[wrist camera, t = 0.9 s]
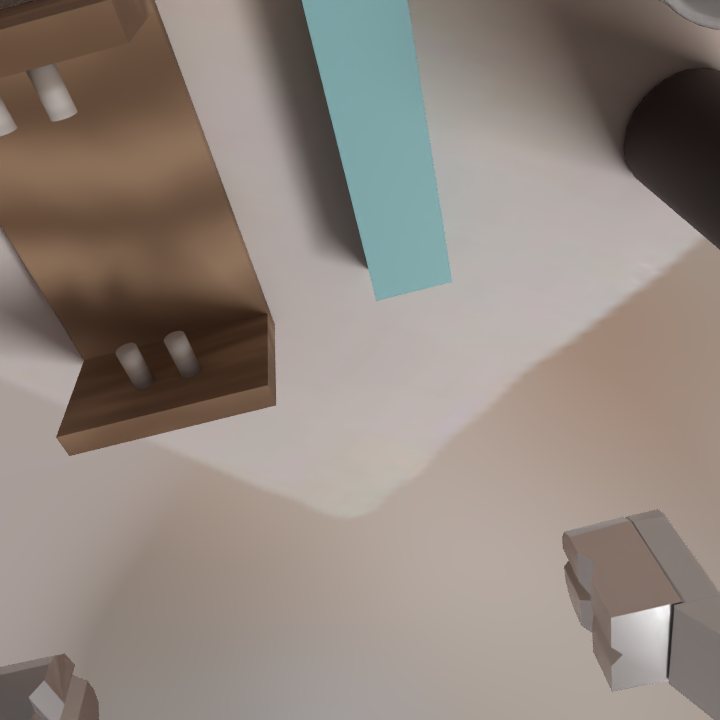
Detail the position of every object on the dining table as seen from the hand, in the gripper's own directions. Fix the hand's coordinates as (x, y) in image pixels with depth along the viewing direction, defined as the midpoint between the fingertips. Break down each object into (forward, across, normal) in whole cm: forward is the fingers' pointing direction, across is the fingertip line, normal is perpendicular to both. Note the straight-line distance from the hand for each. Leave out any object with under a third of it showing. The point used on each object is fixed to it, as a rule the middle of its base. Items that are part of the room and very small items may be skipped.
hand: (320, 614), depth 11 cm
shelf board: (+30, -5, 0) cm, 31 cm away
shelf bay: (+30, +10, +1) cm, 32 cm away
